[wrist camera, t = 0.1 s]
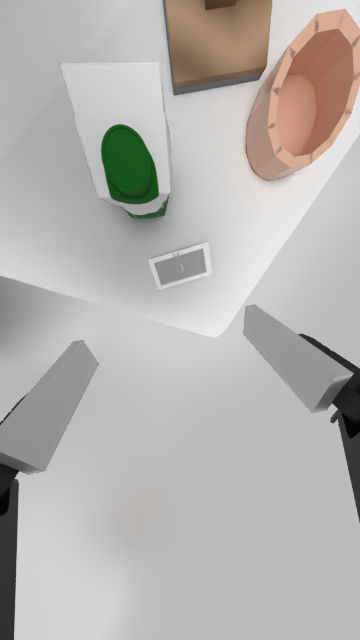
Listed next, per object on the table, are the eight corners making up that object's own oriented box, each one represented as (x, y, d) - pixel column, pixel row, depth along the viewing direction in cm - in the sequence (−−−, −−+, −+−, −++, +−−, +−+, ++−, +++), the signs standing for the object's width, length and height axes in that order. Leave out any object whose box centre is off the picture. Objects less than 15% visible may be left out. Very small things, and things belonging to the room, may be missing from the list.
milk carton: (128, 223, 30) (84, 200, 13) (115, 162, 25) (17, -2, 8) (169, 219, 30) (179, 194, 13) (163, 160, 26) (168, 1, 9)
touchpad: (211, 273, 38) (213, 275, 36) (158, 289, 38) (158, 291, 36) (206, 241, 34) (209, 241, 32) (148, 259, 34) (147, 260, 32)
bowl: (249, 74, 22) (278, 20, 17) (329, 60, 22) (383, 1, 17) (243, 185, 29) (262, 173, 23) (304, 173, 29) (338, 158, 24)
